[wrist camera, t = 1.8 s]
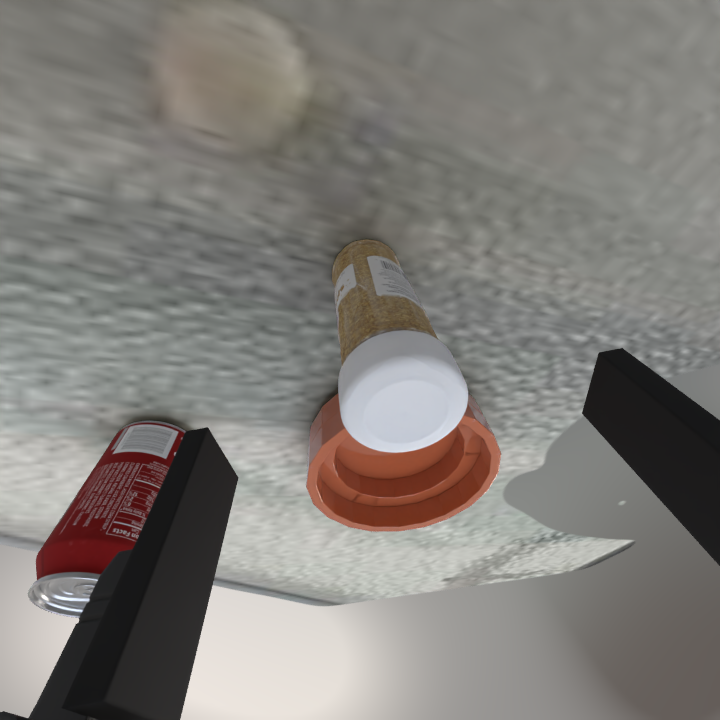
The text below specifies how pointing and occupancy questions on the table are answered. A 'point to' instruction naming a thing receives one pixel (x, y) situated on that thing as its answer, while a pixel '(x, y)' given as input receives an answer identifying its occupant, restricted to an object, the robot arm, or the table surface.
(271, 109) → the table surface
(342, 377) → the sprinkles bottle
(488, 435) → the bowl
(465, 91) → the table surface
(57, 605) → the soda can
